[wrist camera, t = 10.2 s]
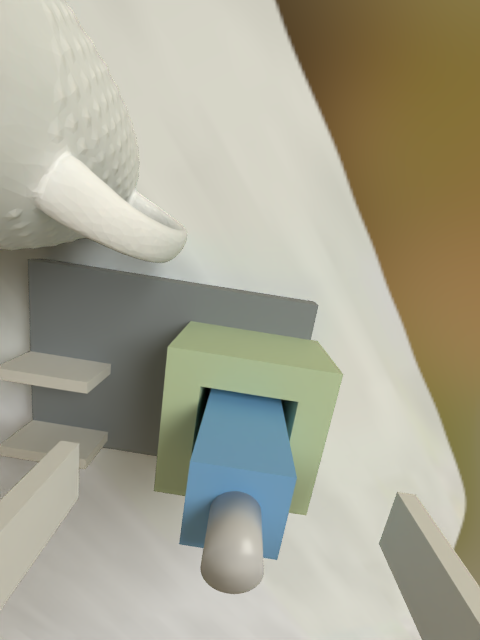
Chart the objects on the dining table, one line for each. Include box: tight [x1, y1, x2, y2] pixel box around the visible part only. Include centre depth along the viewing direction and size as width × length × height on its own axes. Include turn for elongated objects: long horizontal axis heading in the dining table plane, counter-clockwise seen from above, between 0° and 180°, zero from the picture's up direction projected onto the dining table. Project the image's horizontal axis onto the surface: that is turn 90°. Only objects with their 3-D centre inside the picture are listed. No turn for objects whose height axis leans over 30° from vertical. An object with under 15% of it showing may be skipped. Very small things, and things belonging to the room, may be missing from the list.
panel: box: [0, 259, 318, 469], centre depth 20 cm, size 20×14×4 cm
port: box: [154, 321, 343, 515], centre depth 18 cm, size 9×9×6 cm
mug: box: [0, 0, 187, 263], centre depth 13 cm, size 15×11×13 cm
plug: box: [179, 388, 297, 594], centre depth 15 cm, size 4×4×12 cm
